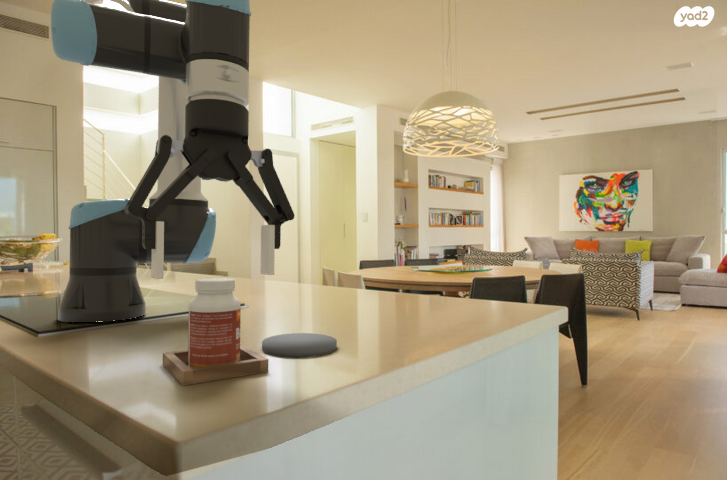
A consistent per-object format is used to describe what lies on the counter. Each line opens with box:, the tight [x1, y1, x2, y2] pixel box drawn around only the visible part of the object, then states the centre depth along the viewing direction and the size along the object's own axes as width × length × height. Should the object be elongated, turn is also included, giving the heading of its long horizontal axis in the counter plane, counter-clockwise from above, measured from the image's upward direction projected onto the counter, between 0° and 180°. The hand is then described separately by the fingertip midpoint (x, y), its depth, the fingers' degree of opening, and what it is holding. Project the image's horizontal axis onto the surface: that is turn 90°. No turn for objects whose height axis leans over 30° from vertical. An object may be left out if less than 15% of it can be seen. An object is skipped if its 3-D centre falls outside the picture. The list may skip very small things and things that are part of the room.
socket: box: [162, 343, 269, 387], centre depth 58 cm, size 10×10×2 cm
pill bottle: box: [187, 277, 241, 368], centre depth 58 cm, size 6×6×11 cm
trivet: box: [261, 332, 338, 358], centre depth 69 cm, size 11×11×1 cm
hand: (216, 276), depth 58 cm, fingers open, 13 cm apart
